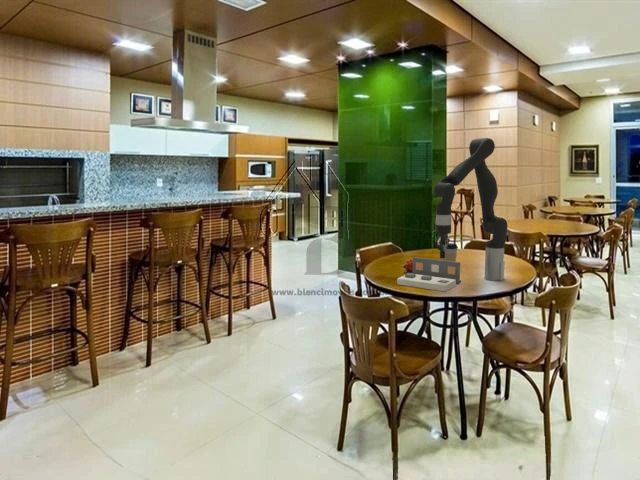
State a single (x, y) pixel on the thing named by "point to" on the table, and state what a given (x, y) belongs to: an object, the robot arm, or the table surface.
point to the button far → (410, 275)
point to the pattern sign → (437, 268)
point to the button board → (427, 283)
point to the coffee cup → (451, 252)
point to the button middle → (426, 277)
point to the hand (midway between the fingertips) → (442, 258)
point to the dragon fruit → (409, 266)
